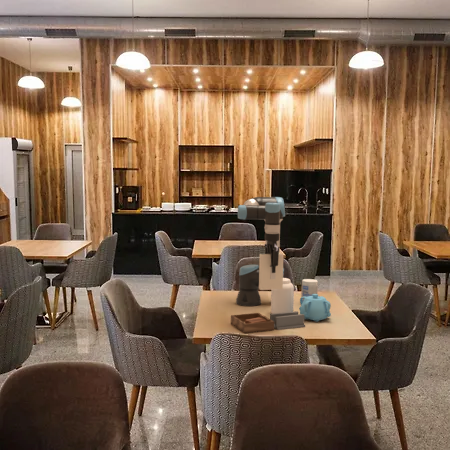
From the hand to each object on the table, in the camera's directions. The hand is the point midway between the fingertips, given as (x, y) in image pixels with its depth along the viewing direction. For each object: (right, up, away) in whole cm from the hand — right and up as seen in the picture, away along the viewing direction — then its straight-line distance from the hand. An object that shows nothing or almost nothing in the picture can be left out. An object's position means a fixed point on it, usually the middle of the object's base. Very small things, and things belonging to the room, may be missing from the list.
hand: (271, 278), depth 268 cm
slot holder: (+8, -25, +2) cm, 26 cm away
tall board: (0, -6, +1) cm, 6 cm away
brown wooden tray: (-10, -25, -1) cm, 27 cm away
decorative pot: (+25, -24, +16) cm, 38 cm away
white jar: (+8, -23, +26) cm, 35 cm away
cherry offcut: (-8, -22, -4) cm, 24 cm away
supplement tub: (+27, -21, +48) cm, 59 cm away
